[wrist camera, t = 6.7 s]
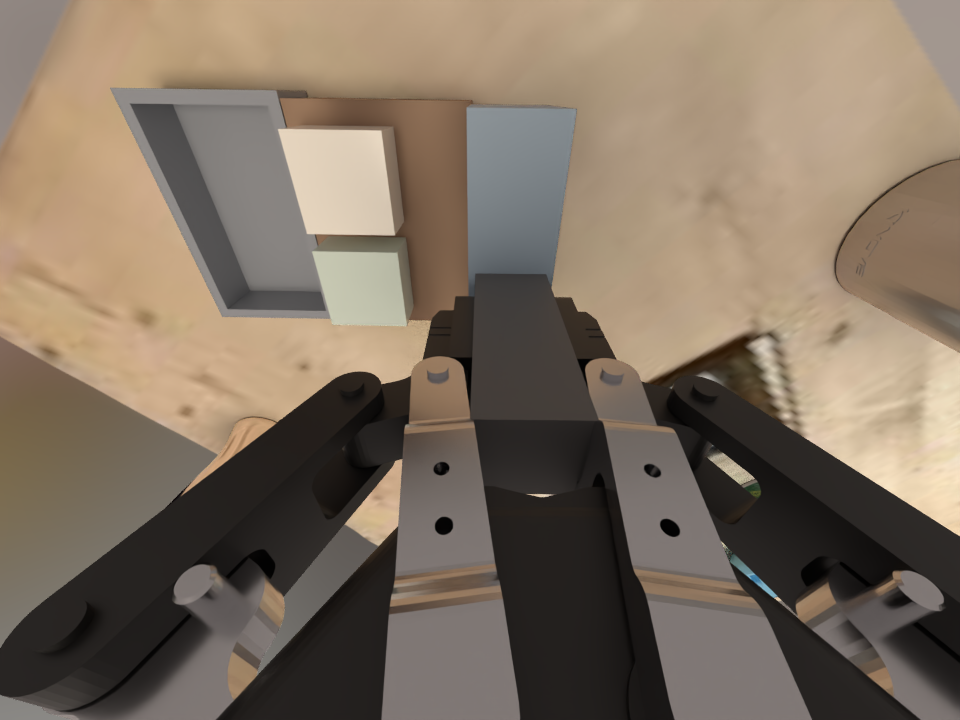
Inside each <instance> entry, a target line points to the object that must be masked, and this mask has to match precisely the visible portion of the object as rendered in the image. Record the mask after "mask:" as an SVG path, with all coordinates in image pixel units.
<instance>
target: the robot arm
mask: <svg viewBox="0 0 960 720" xmlns="http://www.w3.org/2000/svg"><path fill="white" fill-rule="evenodd" d="M836 275H837V278H838V281H839V283H840V284H841V286H842V287H843V288H844V289H845V290H846V291H848V292H850V293H851V294H853V295H855V296H857V297H859V298H861V299H862V300H864V301H866V302H868V303H870V304H871V305H873V306H875V307H877V308H879V309H881V310H882V311H884V312H886V313H888V314H890V315H891V316H893V317H895V318H896V319H898V320H900V321H902V322H904V323H906V324H907V325H909V326H911V327H913V328H915V329H917V330H918V331H920V332H922V333H924V334H926V335H928V336H930V337H931V338H933V339H935V340H937V341H939V342H941V343H942V344H944V345H946V346H948V347H950V348H952V349H953V350H955V351H957V352H959V353H960V159H959V160H954V161H948V162H946V163H943V164H940V165H937V166H934V167H931V168H929V169H927V170H925V171H923V172H921V173H919V174H917V175H915V176H913V177H911V178H909V179H907V180H906V181H904V182H903V183H901V184H900V185H898V186H897V187H895V188H894V189H892V190H891V191H889V192H888V193H887V194H886V195H884V196H883V197H882V198H881V199H880V200H878V201H877V202H876V203H875V204H874V205H872V206H871V208H870V209H869V210H868V211H867V212H866V213H865V214H864V215H863V216H862V217H861V218H860V219H859V220H858V222H857V223H856V224H855V226H854V227H853V228H852V230H851V231H850V232H849V234H848V235H847V237H846V239H845V241H844V243H843V245H842V247H841V249H840V252H839V255H838V258H837V262H836ZM474 298H475V296H455V303H454V310H440V311H439V312H438V313H437V314H436V315H435V316H434V317H433V318H432V321H431V325H430V330H429V336H428V339H427V343H426V348H425V352H424V357H423V360H422V361H420V362H419V363H417V364H416V365H415V366H414V368H413V370H412V373H411V376H410V377H408V378H406V379H403V380H400V381H396V382H391V383H386V384H381V382H380V380H379V378H378V377H377V376H375V375H373V374H371V373H368V372H351V373H347V374H344V375H341V376H339V377H337V378H335V379H334V380H332V381H331V382H330V383H328V384H327V385H326V386H324V387H323V388H322V389H320V390H319V391H318V392H317V393H315V394H314V395H313V396H311V397H310V398H309V399H307V400H306V401H305V402H303V403H302V404H301V405H300V406H298V407H297V408H296V409H294V410H293V411H292V412H290V413H289V414H288V415H286V416H285V417H284V418H283V419H281V420H280V421H279V422H277V423H276V424H275V425H273V426H272V427H271V428H269V429H268V430H267V431H266V432H264V433H263V434H262V435H260V436H259V437H258V438H256V439H255V440H254V441H252V442H251V443H250V444H249V445H247V446H246V447H245V448H243V449H242V450H241V451H239V452H238V453H237V454H235V455H234V456H233V457H232V458H230V459H229V460H228V461H226V462H225V463H224V464H222V465H221V466H220V467H218V468H217V469H216V470H215V471H213V472H212V473H211V474H209V475H208V476H207V477H205V478H204V479H203V480H201V481H200V482H199V483H198V484H196V485H195V486H194V487H192V488H191V489H190V490H188V491H187V492H186V493H184V494H183V495H182V496H181V497H179V498H178V499H177V500H175V501H174V502H173V503H171V504H170V505H169V506H167V507H166V508H165V509H164V510H162V511H161V512H160V513H158V514H157V515H156V516H155V517H153V518H152V519H151V520H149V521H148V522H147V523H145V524H144V525H143V526H141V527H140V528H139V529H138V530H136V531H135V532H134V533H132V534H131V535H130V536H128V537H127V538H126V539H124V540H123V541H122V542H120V543H119V544H118V545H117V546H115V547H114V548H113V549H111V550H110V551H109V552H107V553H106V554H105V555H103V556H102V557H101V558H100V559H98V560H97V561H96V562H94V563H93V564H92V565H90V566H89V567H88V568H86V569H85V570H84V571H83V572H81V573H80V574H79V575H78V576H76V577H75V578H74V579H72V580H71V581H69V582H68V583H67V584H66V585H64V586H63V587H62V588H60V589H59V590H58V591H56V592H55V593H54V594H52V595H51V596H50V597H49V598H47V599H46V600H45V601H44V602H42V603H41V604H40V605H39V606H37V607H36V608H35V609H34V610H32V611H31V612H30V613H29V614H28V615H27V616H26V617H25V618H24V619H23V620H22V621H21V622H20V623H19V624H18V625H17V626H16V628H15V629H14V630H13V631H12V633H11V634H10V635H9V636H8V638H7V639H6V640H5V642H4V643H3V645H2V647H1V648H0V695H2V696H6V697H9V698H13V699H16V700H20V701H23V702H27V703H30V704H34V705H37V706H41V707H42V708H43V710H45V711H46V712H48V713H50V714H53V715H57V716H60V717H64V718H68V719H71V720H960V536H958V535H956V534H955V533H953V532H952V531H950V530H949V529H947V528H945V527H944V526H942V525H941V524H939V523H938V522H936V521H934V520H933V519H931V518H930V517H928V516H927V515H925V514H923V513H922V512H920V511H919V510H917V509H916V508H914V507H912V506H911V505H909V504H908V503H906V502H905V501H903V500H901V499H900V498H898V497H897V496H895V495H894V494H892V493H890V492H889V491H887V490H886V489H884V488H883V487H881V486H879V485H878V484H876V483H875V482H873V481H872V480H870V479H868V478H867V477H865V476H864V475H862V474H860V473H859V472H857V471H856V470H854V469H853V468H851V467H849V466H848V465H846V464H845V463H843V462H842V461H840V460H838V459H837V458H835V457H834V456H832V455H831V454H829V453H827V452H826V451H824V450H823V449H821V448H820V447H818V446H816V445H815V444H813V443H812V442H810V441H809V440H807V439H805V438H804V437H802V436H801V435H799V434H798V433H796V432H794V431H793V430H791V429H790V428H788V427H787V426H785V425H783V424H782V423H780V422H779V421H777V420H775V419H774V418H772V417H771V416H769V415H768V414H766V413H764V412H763V411H761V410H760V409H758V408H757V407H755V406H753V405H752V404H750V403H749V402H747V401H746V400H744V399H742V398H741V397H739V396H738V395H736V394H735V393H733V392H731V391H730V390H728V389H727V388H725V387H724V386H722V385H720V384H718V383H717V382H714V381H712V380H709V379H706V378H703V377H698V376H684V377H681V378H679V379H677V380H676V381H675V383H674V385H673V387H672V389H670V388H666V387H661V386H657V385H652V384H648V383H645V382H642V381H641V380H640V377H639V375H638V373H637V372H636V370H635V369H634V368H632V367H631V366H630V365H628V364H626V363H624V362H622V361H619V360H617V359H616V357H615V355H614V353H613V352H612V350H611V348H610V346H609V344H608V342H607V340H606V338H604V337H605V336H604V334H603V332H602V331H601V328H600V326H599V324H598V322H597V320H596V319H595V318H593V317H592V316H591V315H589V314H588V313H587V312H578V311H577V309H576V307H575V305H574V302H573V300H572V298H570V297H555V300H556V303H557V305H558V308H559V311H560V314H561V316H562V319H563V322H564V325H565V328H566V330H567V333H568V336H569V339H570V341H571V344H572V347H573V350H574V352H575V355H576V358H577V361H578V363H579V366H580V369H581V372H582V374H583V377H584V380H585V383H586V386H587V388H588V391H589V394H590V397H591V399H592V402H593V405H594V408H595V410H596V413H597V416H598V419H599V421H598V422H594V426H593V429H592V432H591V436H590V439H589V452H588V456H587V459H586V463H585V466H584V469H583V472H582V476H581V479H580V481H577V483H576V486H575V490H573V491H569V492H565V493H561V494H557V495H553V496H549V497H536V496H532V495H527V494H523V493H519V492H515V491H511V490H507V489H503V488H499V487H495V486H484V485H483V479H482V472H481V465H480V459H479V452H478V445H477V439H476V432H475V425H474V421H473V419H470V407H471V380H472V352H473V325H474ZM712 445H714V446H715V447H716V448H718V449H719V450H720V451H721V452H723V453H724V454H725V455H727V456H728V457H729V458H730V459H732V460H733V461H734V462H736V463H737V464H738V465H739V466H741V467H742V468H743V469H745V470H746V471H747V472H748V473H750V474H751V475H752V476H753V477H754V478H755V479H756V480H757V482H758V484H759V486H760V489H761V494H760V497H759V498H756V497H755V496H753V495H752V494H751V493H749V492H748V491H747V490H746V489H745V488H743V487H742V486H741V485H740V484H738V483H737V482H736V481H735V480H734V479H732V478H731V477H730V476H729V475H727V474H726V473H725V472H724V471H723V470H721V469H720V468H719V467H718V466H716V465H715V464H714V463H713V462H712V461H710V460H709V459H708V458H707V457H705V456H706V454H707V453H708V451H709V449H710V448H711V446H712ZM400 459H402V475H401V491H400V507H399V523H398V527H397V528H396V529H395V530H394V531H393V532H392V533H391V534H390V535H389V536H388V537H387V538H386V539H385V540H384V541H383V542H382V544H381V545H380V546H379V547H378V548H377V549H376V550H375V551H374V552H373V553H372V554H371V555H370V556H369V557H368V559H366V561H365V562H364V563H363V564H362V565H361V566H360V567H359V568H358V569H357V570H356V571H355V572H354V573H353V575H351V576H350V578H349V579H348V580H347V581H346V582H345V583H344V584H343V585H342V586H341V587H340V588H339V589H338V590H337V591H336V592H335V593H334V595H333V596H332V597H331V598H330V599H329V600H328V601H327V602H326V603H325V604H324V605H323V606H322V607H321V608H320V609H319V611H318V612H317V613H316V614H315V615H314V616H313V617H312V618H311V619H310V620H309V621H308V622H307V623H306V624H305V626H303V628H302V629H301V630H300V631H299V632H298V633H297V634H296V635H295V636H294V637H293V638H292V639H291V641H289V643H288V644H287V645H286V646H285V647H284V648H283V649H282V650H281V651H280V652H279V653H278V654H277V655H276V656H275V657H274V658H273V659H272V660H271V661H270V663H269V664H268V665H267V666H266V667H265V668H264V669H263V670H262V671H261V672H260V673H259V674H258V675H257V671H258V668H259V665H260V663H261V660H262V658H263V656H264V654H265V652H266V651H267V650H268V649H269V647H270V646H271V644H272V643H273V640H274V638H275V637H276V635H277V633H278V631H279V629H280V626H281V624H282V621H283V616H284V608H285V607H284V599H283V597H284V596H285V594H286V593H287V592H288V591H289V589H290V588H291V587H292V586H293V585H294V584H295V583H296V581H297V580H298V579H299V578H300V577H301V575H302V574H303V573H304V572H305V570H306V569H307V568H308V567H309V566H310V565H311V563H312V562H313V561H314V560H315V558H316V557H317V556H318V555H319V554H320V552H321V551H322V550H323V549H324V548H325V547H326V545H327V544H328V543H329V542H330V541H331V539H332V538H333V537H334V536H335V535H336V533H337V532H338V531H339V530H340V529H341V527H342V526H343V525H344V524H345V523H346V522H347V520H348V519H349V518H350V517H351V516H352V514H353V513H354V512H355V511H356V510H357V508H358V507H359V506H360V505H361V504H362V502H363V501H364V500H365V499H366V498H367V496H368V495H369V494H370V493H371V492H372V490H373V489H374V488H375V487H376V486H377V484H378V483H379V482H380V481H381V480H382V479H383V477H384V476H385V475H386V474H387V473H388V471H389V470H390V469H391V468H392V466H393V465H394V463H395V461H396V460H400ZM720 540H721V541H722V542H723V543H724V544H725V545H726V546H727V547H728V548H729V549H730V550H731V551H732V552H733V553H734V554H735V555H736V556H737V557H738V558H739V559H740V560H741V561H742V562H743V563H744V564H745V565H746V566H747V567H748V568H749V569H750V570H751V571H752V572H753V573H754V574H755V575H756V576H757V577H758V578H759V579H760V580H762V581H763V582H764V583H765V584H766V585H767V586H768V587H769V588H770V589H771V590H772V591H773V592H774V593H775V594H776V595H777V596H778V597H779V598H780V599H781V600H782V601H783V602H784V603H785V604H786V605H787V606H788V607H789V608H790V609H791V610H792V611H793V612H794V613H795V614H797V616H798V618H799V619H798V618H797V617H796V616H795V615H793V614H792V613H791V612H790V611H789V610H788V609H786V608H785V607H784V606H783V605H782V604H780V603H779V602H778V601H777V600H776V599H774V598H773V597H772V596H771V595H769V594H768V593H767V592H766V591H765V590H763V589H762V588H761V587H760V586H759V585H757V584H756V583H755V582H754V581H753V580H751V579H750V578H749V577H748V576H747V575H745V574H744V573H743V572H742V571H740V570H739V569H738V568H737V567H736V566H734V565H733V564H732V563H731V562H730V561H729V560H728V558H727V555H726V553H725V550H724V548H723V545H722V543H721V541H720ZM256 675H257V676H256Z"/></svg>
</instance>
